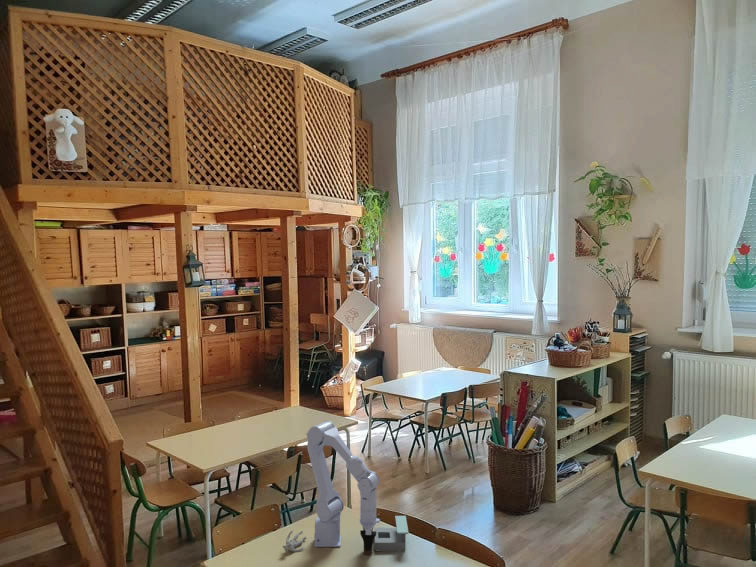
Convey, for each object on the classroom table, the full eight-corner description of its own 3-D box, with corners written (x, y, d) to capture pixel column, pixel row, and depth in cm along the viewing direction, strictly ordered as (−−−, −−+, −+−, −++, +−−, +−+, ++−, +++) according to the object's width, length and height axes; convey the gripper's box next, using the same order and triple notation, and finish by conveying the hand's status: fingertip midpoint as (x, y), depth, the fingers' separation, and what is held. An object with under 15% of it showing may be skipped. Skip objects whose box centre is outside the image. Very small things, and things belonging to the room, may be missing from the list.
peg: (363, 555, 195) (363, 530, 194) (363, 550, 198) (363, 526, 198) (372, 555, 195) (372, 530, 195) (372, 550, 198) (372, 526, 198)
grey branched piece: (311, 544, 204) (300, 550, 193) (301, 553, 204) (289, 559, 193) (299, 526, 207) (287, 531, 195) (289, 535, 207) (277, 540, 195)
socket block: (374, 552, 197) (375, 532, 197) (374, 534, 210) (374, 515, 210) (408, 552, 197) (408, 532, 197) (405, 534, 210) (405, 515, 210)
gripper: (380, 517, 189) (379, 555, 189) (379, 498, 203) (378, 534, 204) (359, 517, 189) (359, 555, 189) (360, 498, 203) (359, 534, 204)
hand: (368, 544), depth 196 cm, fingers open, 7 cm apart
